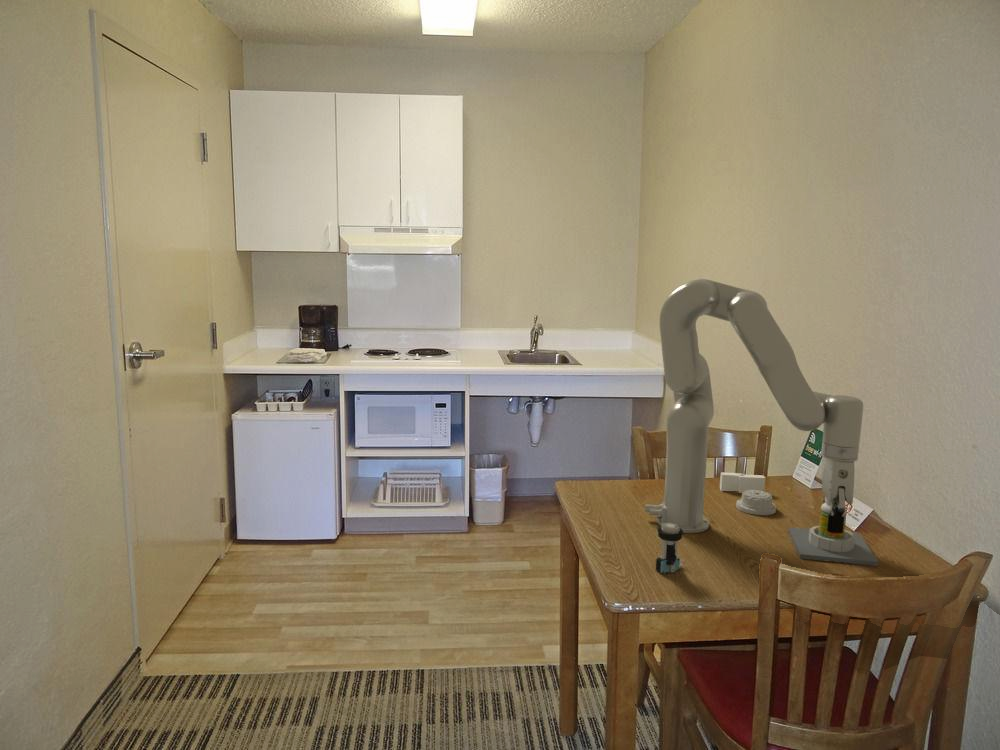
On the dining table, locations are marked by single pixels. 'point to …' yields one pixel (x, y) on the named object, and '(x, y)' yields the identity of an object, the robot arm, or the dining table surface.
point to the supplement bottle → (824, 522)
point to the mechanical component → (756, 503)
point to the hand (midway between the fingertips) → (831, 526)
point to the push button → (669, 547)
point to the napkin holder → (741, 482)
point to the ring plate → (832, 547)
